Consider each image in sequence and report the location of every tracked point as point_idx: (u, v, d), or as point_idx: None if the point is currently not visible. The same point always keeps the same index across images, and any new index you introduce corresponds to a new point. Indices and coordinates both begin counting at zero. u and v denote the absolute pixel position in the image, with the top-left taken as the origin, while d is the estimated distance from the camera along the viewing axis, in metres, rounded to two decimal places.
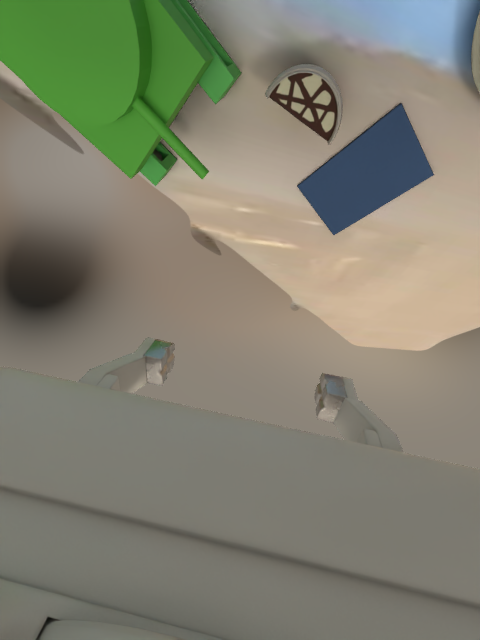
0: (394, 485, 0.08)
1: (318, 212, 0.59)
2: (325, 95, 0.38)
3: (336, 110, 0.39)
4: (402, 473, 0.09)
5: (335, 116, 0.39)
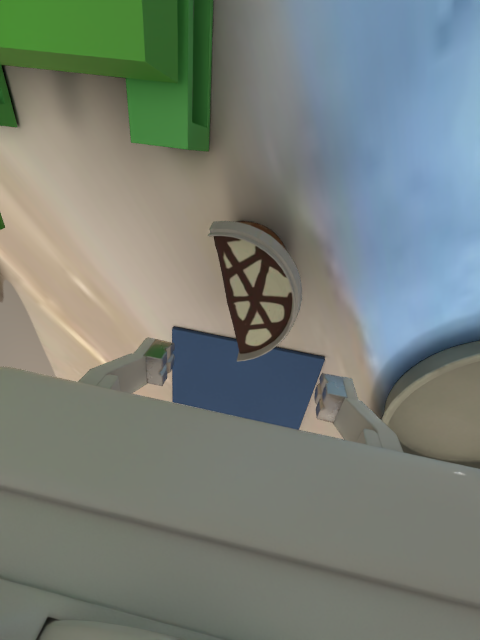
0: (394, 485, 0.08)
1: (174, 370, 0.40)
2: (278, 311, 0.22)
3: (276, 337, 0.23)
4: (402, 473, 0.09)
5: (269, 340, 0.24)
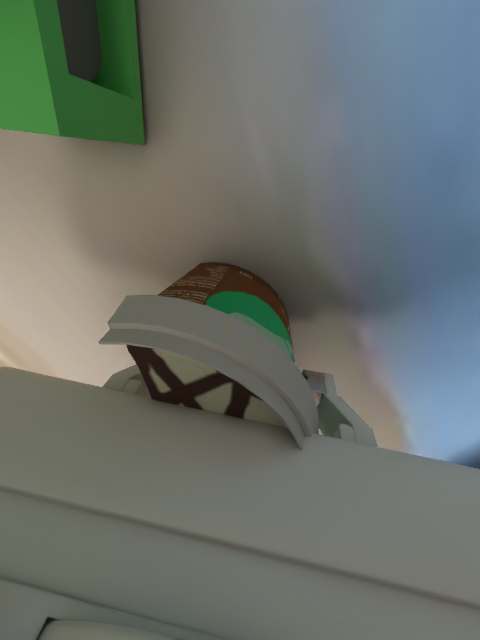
0: (394, 485, 0.08)
1: None
2: None
3: None
4: (402, 473, 0.09)
5: None
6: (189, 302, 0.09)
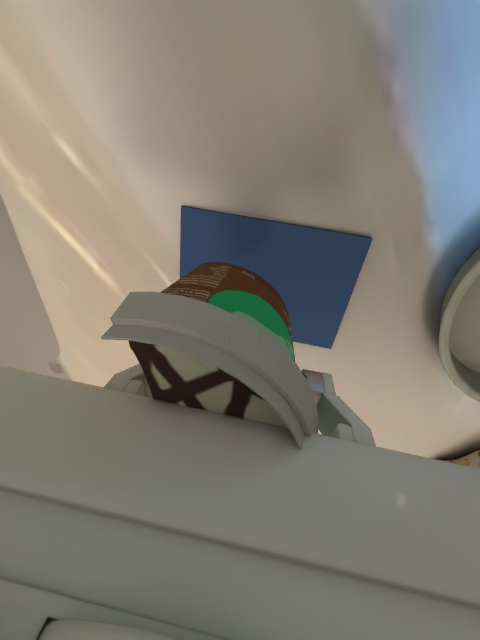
0: (394, 485, 0.08)
1: (182, 271, 0.33)
2: None
3: None
4: (402, 473, 0.09)
5: None
6: (192, 300, 0.09)
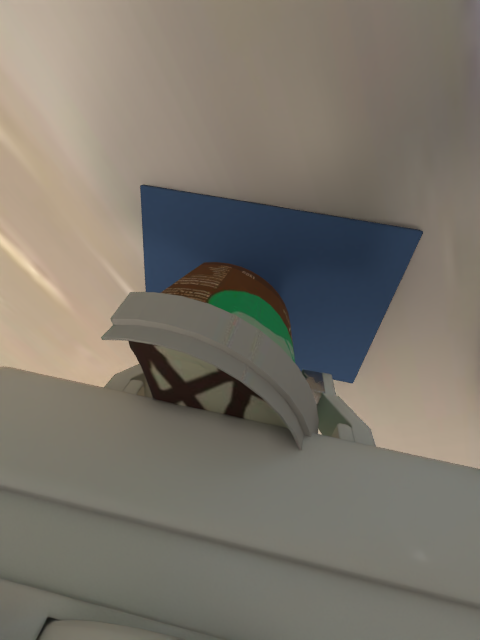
0: (394, 485, 0.08)
1: (148, 279, 0.23)
2: None
3: None
4: (402, 473, 0.09)
5: None
6: (192, 300, 0.09)
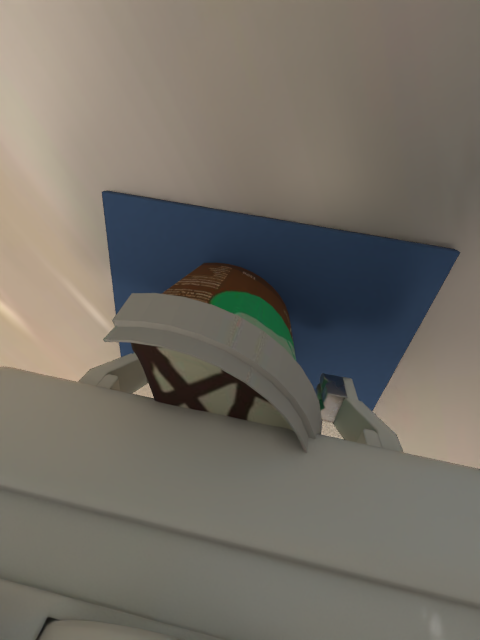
0: (394, 485, 0.08)
1: (118, 304, 0.19)
2: None
3: None
4: (402, 473, 0.09)
5: None
6: (195, 301, 0.09)
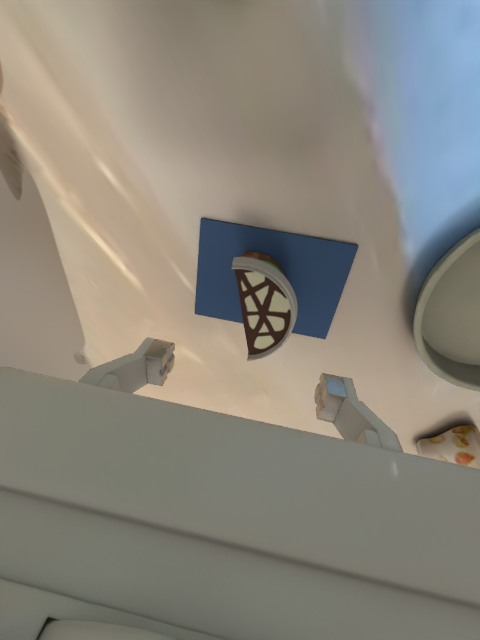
0: (394, 485, 0.08)
1: (199, 273, 0.38)
2: (280, 323, 0.30)
3: (278, 342, 0.31)
4: (402, 473, 0.09)
5: (272, 345, 0.31)
6: (255, 259, 0.28)
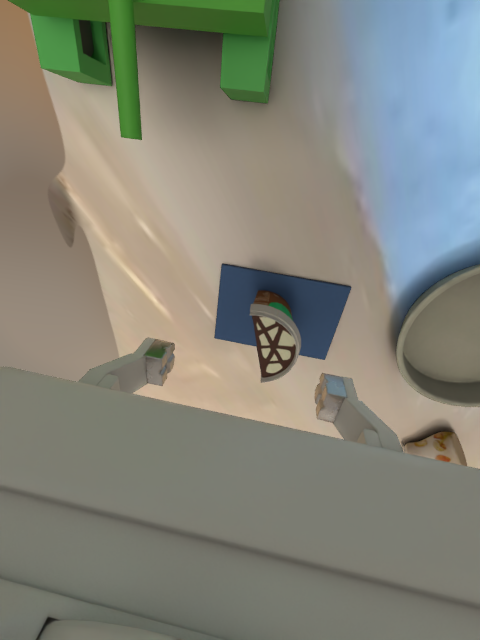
0: (394, 485, 0.08)
1: (219, 306, 0.46)
2: (287, 354, 0.38)
3: (285, 368, 0.39)
4: (402, 473, 0.09)
5: (281, 370, 0.39)
6: (267, 306, 0.36)
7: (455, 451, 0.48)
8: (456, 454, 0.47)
